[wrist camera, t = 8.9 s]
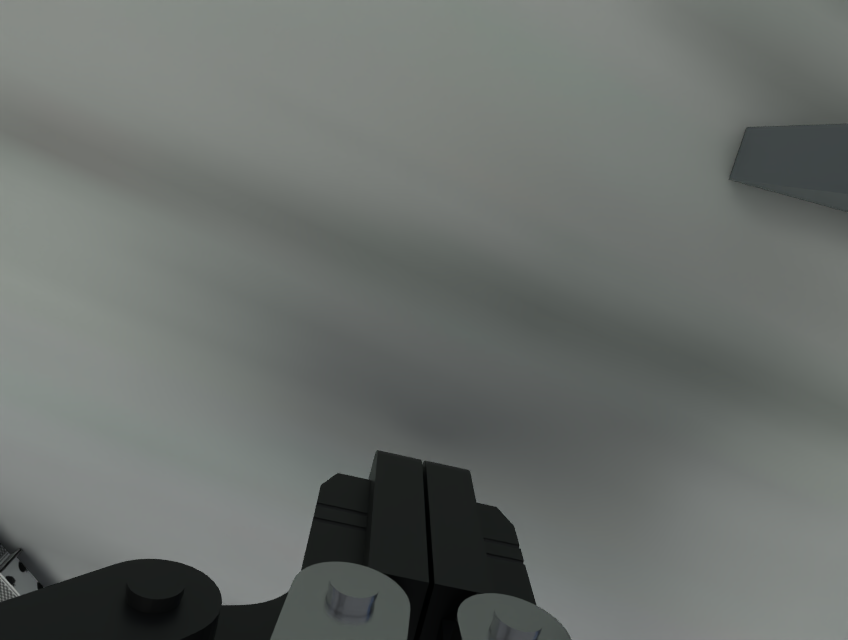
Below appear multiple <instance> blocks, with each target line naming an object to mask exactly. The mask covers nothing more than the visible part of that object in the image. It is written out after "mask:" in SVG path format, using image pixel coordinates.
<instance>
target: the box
mask: <svg viewBox="0 0 848 640" xmlns="http://www.w3.org/2000/svg"><path fill="white" fill-rule="evenodd" d="M730 180H733V181H737V182H741V183H744V184H748V185H752V186H755V187H759V188H762V189H766V190H770V191H773V192H777V193H781V194H784V195H788V196H791V197H795V198H799V199H802V200H806V201H810V202H813V203H817V204H821V205H824V206H828V207H831V208H835V209H839V210H842V211H846V212H848V124H826V125H798V126H770V127H747V129H746V132H745V135H744V138H743V141H742V144H741V147H740V150H739V152H738V155H737V158H736V161H735V164H734V167H733V170H732V173H731V176H730Z"/></svg>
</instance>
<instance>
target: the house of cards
mask: <svg viewBox="0 0 848 640" xmlns="http://www.w3.org/2000/svg"><path fill="white" fill-rule="evenodd" d="M19 550H20V549H18V550H17V551H15V552H14V553H12V554H11V555H10V554H9V553H8V552H7V550H6V549H5V548H4V547H3V546H2V545H1V544H0V602H2V601H5V600H8V599H11V598H14V597H17V596H20V595H23V594H26V593H29V592H32V591H35V590H38V589H41V588H44V587H43V586H42V585H41V584H40V583H39V582H38V581H37V580H36V578H35V577H34V576H33V575H32V574H31V573H30V572H29V571H28V570H27V568H26V567H25V566H24V565H23V564H22V563H21V562H20V561H19V560H18V558H17V556H18V555H19V553H20V552H21V551H20V552H19V553H17V552H18V551H19ZM16 553H17V554H16ZM15 554H16V555H15ZM9 555H10V556H9Z"/></svg>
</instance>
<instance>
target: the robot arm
mask: <svg viewBox="0 0 848 640" xmlns="http://www.w3.org/2000/svg"><path fill="white" fill-rule="evenodd" d="M523 562H524V560H523V556H522V553H521V549H519V542H518V539H517V535H516V532H515V528H514V526H513V525H512V523H511V522H510V521H509V520H508V519H507V518H506V517H505V516H504V515H503V514H502V513H501V511H500V510H499V509H498V508H497V507H494V506H489V505H484V504H480V503H476V499H475V494H474V489H473V484H472V479H471V474H470V471H469V470H466V469H461V468H457V467H452V466H448V465H443V464H439V463H434V462H429V461H424V462H423V464H422V460H420V459H415V458H411V457H406V456H401V455H397V454H392V453H388V452H383V451H379V450H377V451H376V454H375V457H374V460H373V464H372V468H371V472H370V476H369V480H368V479H363V478H358V477H354V476H349V475H344V474H340V473H337V474H336V475H334V476H333V477H332V478H330V479H329V480H327V481H326V482H325V483H323V484H322V485H321V487H320V492H319V496H318V500H317V505H316V509H315V513H314V517H313V522H312V526H311V530H310V534H309V539H308V543H307V547H306V552H305V556H304V560H303V564H302V569H301V571H300V572H299V573H298V574H297V575H296V577H295V578H294V580H293V582H292V585H291V587H290V590H289V592H287V593H286V594H284V595H282V596H281V597H278V598H276V599H274V600H270V601H267V602H263V603H258V604H251V605H221V604H222V598H221V593H220V591H219V588H218V587H217V586H216V584H215V583H214V582H213V581H212V580H211V579H210V578H209V577H208V576H207V575H205V574H204V573H202V572H201V571H199V570H197V569H195V568H193V567H191V566H188V565H185V564H182V563H178V562H174V561H169V560H161V559H138V560H131V561H125V562H121V563H118V564H114V565H111V566H108V567H105V568H102V569H99V570H96V571H93V572H90V573H87V574H84V575H81V576H78V577H75V578H72V579H69V580H66V581H63V582H60V583H57V584H54V585H51V586H48V587H45V588H41V589H38V590H35V591H32V592H29V593H26V594H23V595H20V596H17V597H14V598H11V599H8V600H5V601H2V602H0V640H571V637H570V636H569V634H568V632H567V630H566V629H565V628H564V627H563V625H562V624H561V623H560V622H559V621H558V620H557V619H556V618H554V617H553V616H552V615H551V614H549V613H548V612H546V611H545V610H543V609H542V608H540V607H538V606H536V602H535V599H534V595H533V592H532V588H531V585H530V581H529V577H528V574H527V570H526V567H525V565H524V564H523Z"/></svg>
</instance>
